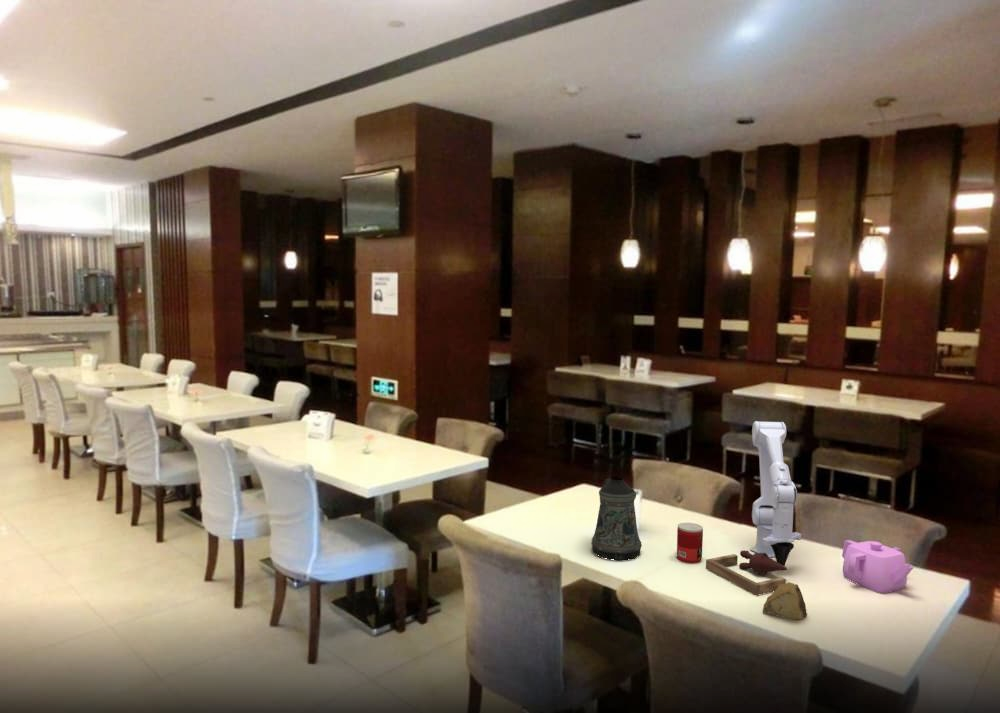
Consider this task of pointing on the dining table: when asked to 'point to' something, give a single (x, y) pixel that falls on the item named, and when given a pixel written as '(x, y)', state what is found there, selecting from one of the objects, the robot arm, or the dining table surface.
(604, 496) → the beer stein
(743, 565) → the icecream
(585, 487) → the dining table surface
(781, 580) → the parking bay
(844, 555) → the teakettle
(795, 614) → the rock
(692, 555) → the canned food
